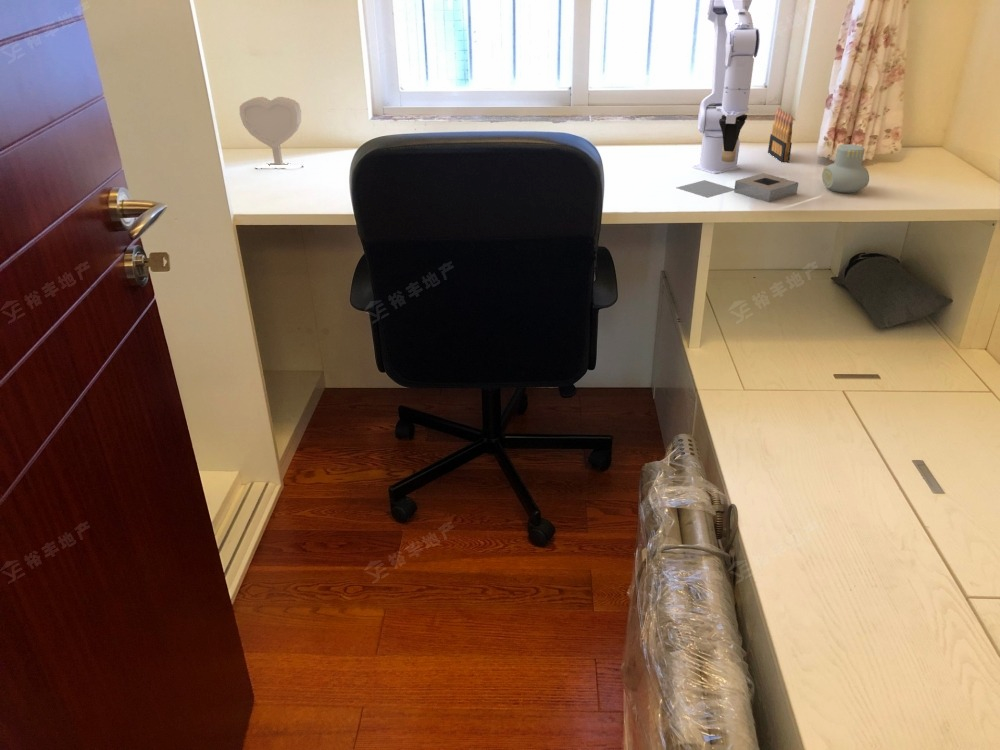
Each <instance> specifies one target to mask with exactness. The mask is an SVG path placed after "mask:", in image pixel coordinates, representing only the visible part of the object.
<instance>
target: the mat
mask: <svg viewBox="0 0 1000 750" xmlns="http://www.w3.org/2000/svg"><path fill="white" fill-rule="evenodd" d="M675 188H676V189H678V190H681V191H684V192H688V193H691V194H694V195H697V196H701V197H704V198H711V197H715V196H718V195H722V194H726V193H729V192H734V188H733V187H731V186H726V185H724V184H723V185H722V184H719V183H715V182H712V181H708V180H706V179H704V180H700V181H695V182H692V183H688V184H685V185H681V186H678V187H675Z"/></svg>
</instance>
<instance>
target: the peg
mask: <svg viewBox="0 0 1000 750" xmlns="http://www.w3.org/2000/svg"><path fill="white" fill-rule="evenodd" d="M737 121H739V120H737ZM736 146H737V142H736ZM736 146H735V149H734V151H733V152H730V151H724V147H723V151H722V161H723V162H734V161H735V154H736Z"/></svg>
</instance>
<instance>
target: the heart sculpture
mask: <svg viewBox="0 0 1000 750" xmlns="http://www.w3.org/2000/svg"><path fill="white" fill-rule="evenodd" d="M239 117H240V120H241V123H242V126H243V127H244V129H246V130H247V132H248V133H249V134H250V135H251V136H252V137H254V138H255V139H256V140H258V141H259V142H261V143H262V144H264V145H266V146H267V147H270V148H271V149H272V151H271V152H272V155H273V157H272V158H273V161H274V162H271V163H270V164H269V163H267V164H268V165H269V166H270V165H288V164H289V162H283V156H282V150H281V145H282V144H283V143H285V142H286V141H288V140H289V139H290V138H291V137H292V136H293V135H294V134H295V133H296V132H298V130H299V127H300V125H301V123H302V109H301V105H300V104H299V102H298V101H296V99H292V98H290V97H284V96H277V97H275V98H272V99H271V100H270V99H268V98H267V97H264V96H257V97H254V98H250V99H248V100H246V101H244V102H242V103H241V105H240V106H239ZM285 163H287V164H285Z"/></svg>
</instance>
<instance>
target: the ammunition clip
mask: <svg viewBox="0 0 1000 750" xmlns="http://www.w3.org/2000/svg"><path fill="white" fill-rule="evenodd" d="M793 118H794V117H793V115H792V114H791V115H790V113H787V111H785V110H783V109H780V108H779V107H778V108H777V110H776V112H775V116H774V121H773V124H772V130H771V133H770V136H769V143H768V149H767V153H768V154H769V153H770V154H771V155H770V154H769V155H770V156H772V157H773V156H774V157H773V158H774V159H776V158H777V159H776V160H777V161H779V162H780V161H781V162H780V163H782V162H787V163H790V159H791V152H792V151H791V150H792V143H793V142H792V135H793V124H794V119H793Z"/></svg>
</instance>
